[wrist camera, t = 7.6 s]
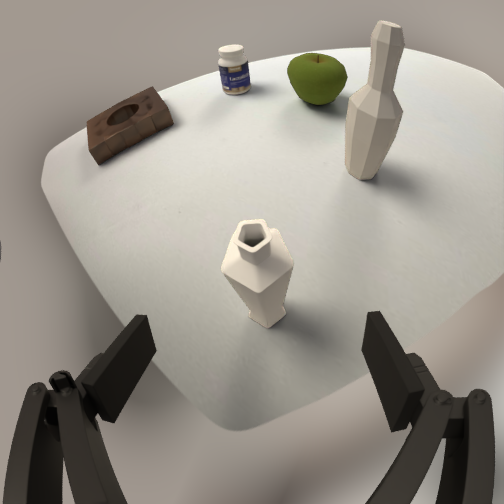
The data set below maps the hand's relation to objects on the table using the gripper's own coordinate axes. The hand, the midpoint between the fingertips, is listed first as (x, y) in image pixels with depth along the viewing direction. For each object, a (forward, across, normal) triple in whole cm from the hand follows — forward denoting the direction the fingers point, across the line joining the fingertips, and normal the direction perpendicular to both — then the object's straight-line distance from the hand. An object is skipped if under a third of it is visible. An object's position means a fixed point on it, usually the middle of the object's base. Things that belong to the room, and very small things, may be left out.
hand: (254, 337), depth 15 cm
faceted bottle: (+26, +14, +9) cm, 31 cm away
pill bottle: (+44, -5, +26) cm, 51 cm away
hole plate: (+37, -27, +20) cm, 50 cm away
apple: (+39, +10, +22) cm, 46 cm away
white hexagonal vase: (+12, 0, -5) cm, 13 cm away
